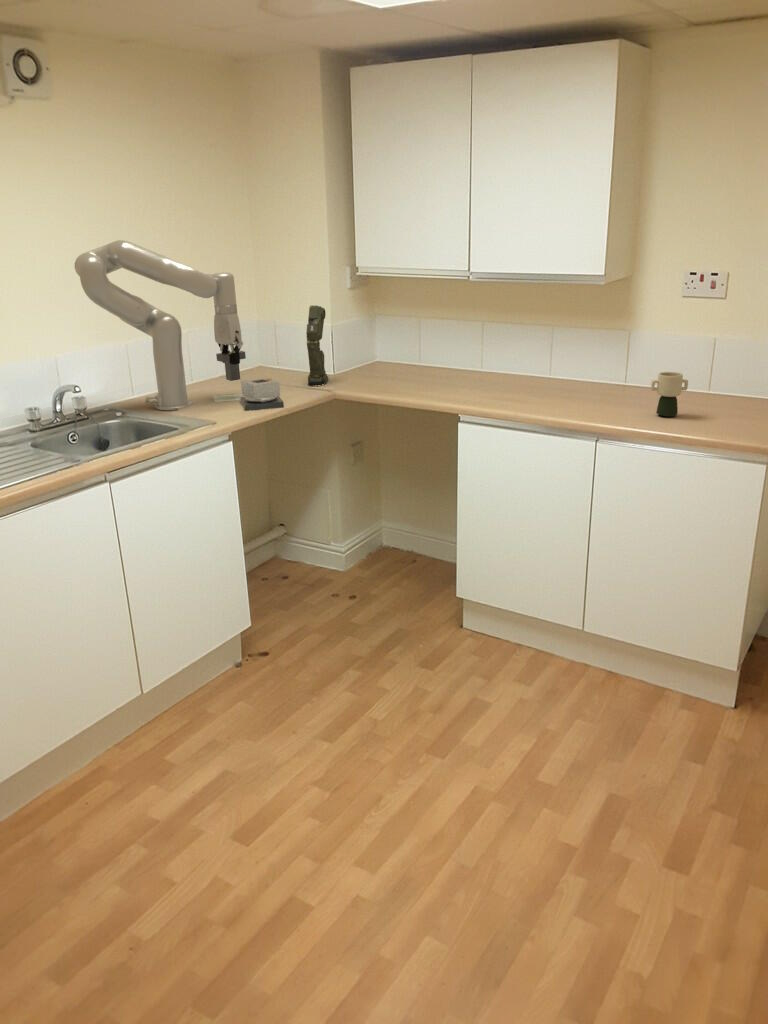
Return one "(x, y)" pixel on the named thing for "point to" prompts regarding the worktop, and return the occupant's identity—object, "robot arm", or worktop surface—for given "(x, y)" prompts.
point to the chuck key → (230, 365)
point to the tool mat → (227, 397)
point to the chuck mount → (262, 404)
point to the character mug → (668, 392)
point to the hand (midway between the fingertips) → (231, 362)
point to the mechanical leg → (316, 346)
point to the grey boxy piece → (260, 389)
